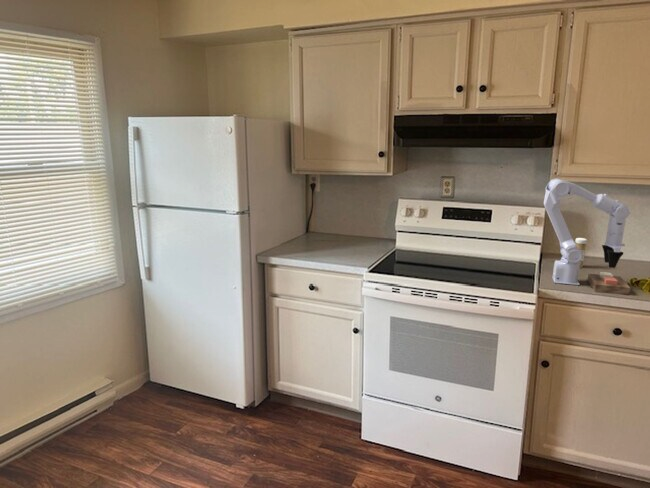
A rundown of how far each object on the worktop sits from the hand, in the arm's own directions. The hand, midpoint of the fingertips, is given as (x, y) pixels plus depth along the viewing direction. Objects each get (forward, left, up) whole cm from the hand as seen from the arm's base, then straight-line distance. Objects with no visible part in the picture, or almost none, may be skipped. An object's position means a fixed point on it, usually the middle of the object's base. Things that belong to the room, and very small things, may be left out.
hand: (609, 264), depth 199 cm
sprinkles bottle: (-7, +24, -9) cm, 27 cm away
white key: (-1, 0, -6) cm, 6 cm away
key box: (-1, -4, -8) cm, 9 cm away
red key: (-1, -7, -6) cm, 10 cm away
